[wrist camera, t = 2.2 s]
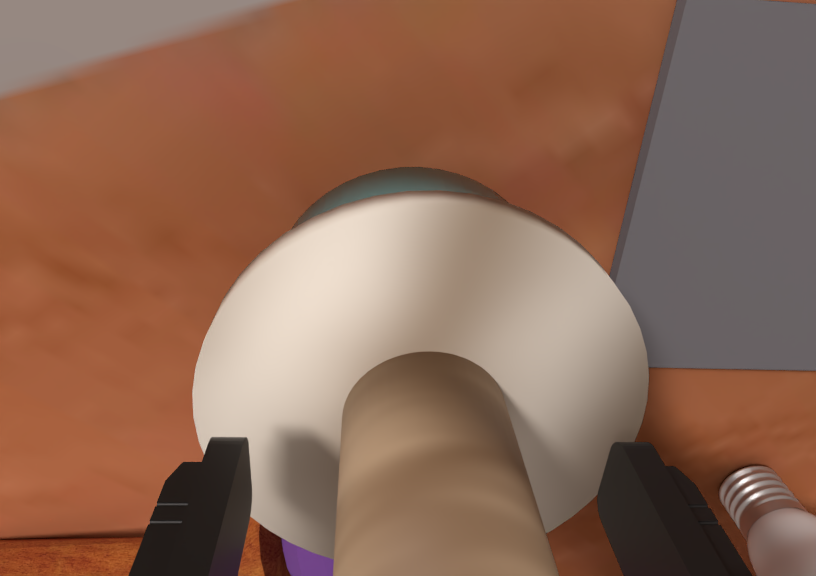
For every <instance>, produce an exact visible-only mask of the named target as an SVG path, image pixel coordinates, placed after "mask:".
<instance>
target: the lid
mask: <svg viewBox="0 0 816 576" xmlns="http://www.w3.org/2000/svg"><path fill="white" fill-rule="evenodd" d="M648 384H649V370H648V360H647V351H646V347H645V344H644V340H643V336H642V333H641V329H640V327H639V324H638V322H637V320H636V318H635V316H634V314H633V312H632V309H631V307H630V305H629V304H628V302H627V301H626V299H625V298H624V296H623V295H622V294H621V292H620V291H619V289H618V288H617V286H616V285H615V283H614V282H613V281H612V279H611V278H610V277H609V276H608V274H607V273H606V272H605V270H604V269H603V268H602V266H601V265H600V264H599V263H598V262H597V261H596V260H595V259H594V257H593V256H592V255H591V254H590V253H589V252H588V251H587V250H586V249H585V248H584V247H583V246H582V245H581V244H580V243H579V242H577V241H576V240H575V239H573V238H572V237H571V236H570V235H568V234H567V233H566V232H564V231H563V230H562V229H560V228H559V227H558V226H556V225H554V224H552V223H550V222H549V221H547V220H545V219H543V218H542V217H540V216H538V215H536V214H534V213H533V212H530V211H527V210H525V209H522V208H520V207H517V206H515V205H512V204H509V203H507V202H504V201H500V200H496V199H492V198H488V197H484V196H479V195H475V194H469V193H460V192H450V191H441V190H436V191H404V192H397V193H390V194H384V195H377V196H372V197H368V198H365V199H361V200H357V201H354V202H350V203H347V204H343V205H340V206H338V207H336V208H333V209H331V210H328V211H326V212H324V213H321V214H319V215H317V216H314V217H312V218H310V219H309V220H307V221H305V222H303V223H302V224H300V225H298V226H297V227H295V228H293V229H291V230H290V231H288V232H286V233H285V234H283V235H282V236H281V237H280V238H278V239H277V240H276V241H274V242H273V243H272V244H271V245H269V246H268V247H267V248H266V249H264V250H263V251H262V252H261V253H260V254H259V255H258V256H257V257H256V258H255V259H254V260H253V261H252V262H251V263H250V264H249V265H248V266H247V267H246V268H245V269H244V270H243V271H242V272H241V274H240V275H239V277H238V278H237V279H236V281H235V282H234V284H233V285H232V286H231V288H230V289H229V291H228V292H227V294H226V295H225V297H224V299H223V301H222V303H221V305H220V307H219V309H218V311H217V313H216V315H215V317H214V319H213V321H212V324H211V326H210V328H209V330H208V333H207V335H206V337H205V340H204V342H203V345H202V348H201V351H200V355H199V358H198V361H197V365H196V368H195V376H194V384H193V392H192V395H193V417H194V422H195V426H196V431H197V436H198V440H199V443H200V445H201V448H202V450H203V453H204V454H205V451H206V448H207V445H208V443H209V440H210V438H211V437H247V438H248V443H249V455H250V468H251V481H252V506H251V515H250V517H252V518H253V519H254V520H256V521H257V522H258V523H260V524H261V525H262V526H264V527H265V528H266V529H268V530H269V531H271V532H273V533H274V534H276V535H278V536H279V537H281V538H283V539H285V540H286V541H288V542H290V543H292V544H294V545H296V546H299V547H301V548H303V549H306V550H308V551H310V552H312V553H315V554H318V555H322V556H325V557H328V558H331V559H334V564H333V576H559V573H558V570H557V567H556V564H555V561H554V557H553V554H552V551H551V548H550V545H549V541H548V538H547V535H546V533H548V532H550V531H552V530H553V529H555V528H556V527H558V526H559V525H561V524H562V523H564V522H565V521H567V520H568V519H570V518H571V517H573V516H574V515H575V514H576V513H577V512H579V511H580V510H581V509H582V508H583V507H584V506H586V505H587V504H588V503H589V502H590V501H592V499H593V498H594V497H595V496H596V495H597V494H598V490H599V486H600V483H601V479H602V476H603V473H604V469H605V466H606V462H607V459H608V455H609V452H610V449H611V446H612V444H613V443H615V442H635V439H636V437H637V434H638V432H639V429H640V426H641V424H642V421H643V416H644V412H645V408H646V403H647V398H648Z"/></svg>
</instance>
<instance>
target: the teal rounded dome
mask: <svg viewBox="0 0 816 576" xmlns="http://www.w3.org/2000/svg"><path fill="white" fill-rule="evenodd" d="M436 190H441V191H450V192H460V193H469V194H475V195H479V196H484V197H488V198H492V199H496V200H500V201H504V202H507V201H506V200H505V199H503V198H502V197H501V196H499V195H498V194H497V193H495V192H494V191H493V190H491V189H490V188H488V187H486V186H484V185H482V184H481V183H479V182H477V181H475V180H472V179H470V178H467V177H465V176H462V175H460V174H457V173H452V172H448V171H444V170H440V169H432V168H423V167H400V168H393V169H386V170H380V171H376V172H373V173H369V174H366V175H362V176H359V177H357V178H355V179H352V180H350V181H348V182H345V183H343V184H341V185H340V186H338V187H336V188H335V189H333V190H331V191H329V192H328V193H326V194H325V195H324V196H322V197H321V198H320V199H319V200H317V201H316V202H315V203H314V204H312V205H311V206H310V207H309V208H308V209H307V210H306V211H305V212H304V213H303V215H302V216H301V217H300V218H299V219H298V220H297V222H296V223H295V224H294V226H293V227H292V229H293V228H295V227H297V226H298V225H300V224H302V223H303V222H305V221H307V220H309V219H310V218H312V217H314V216H317V215H319V214H321V213H324V212H326V211H328V210H331V209H333V208H336V207H338V206H340V205H343V204H347V203H350V202H354V201H357V200H361V199H365V198H368V197H372V196H377V195H384V194H390V193H397V192H404V191H436ZM507 203H508V202H507Z"/></svg>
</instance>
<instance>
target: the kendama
mask: <svg viewBox="0 0 816 576" xmlns="http://www.w3.org/2000/svg"><path fill="white" fill-rule="evenodd" d="M142 539H143V537H131V538H77V539H23V540H0V576H128V575H129V572H130V570H131V567H132V565H133V562H134V560H135V557H136V555H137V552H138V550H139V547H140V544H141V542H142ZM333 564H334V559H331V558H328V557H325V556H322V555H318V554H315V553H312V552H310V551H308V550H306V549H303V548H301V547H299V546H296V545H294V544H292V543H290V542H288V541H286V540H285V539H283V538H281V537H279V536H278V535H276V534H274V533H273V532H271V531H269V530H268V529H266V528H265V527H264V526H262V525H261V524H260V523H258V522H257V521H256V520H254V519H253V518H252V517H250V520H249V525H248V530H247V534H246V539H245V544H244V548H243V553H242V558H241V562H240V567H239V572H238V576H333Z"/></svg>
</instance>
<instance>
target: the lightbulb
mask: <svg viewBox="0 0 816 576" xmlns="http://www.w3.org/2000/svg"><path fill="white" fill-rule="evenodd" d="M719 499H720V501H721V503H722V504H723V506H724V507H725V508H726V510H727V512H728V513H729V514H730V516H731V518H732V520H733V521H734V522H735V524H736V526H737V527H738V528H739V529H740V531H741V534H742V535H743V537H744V538H745V540H746V541H747V548H748V554H749V558H750V561H751V564H752V566H753V568H754V571H755V574H756V576H816V516H815V515H813V514H811V513H809V512H807V510H806V509H805V508H804V507H803V506H802V505H801V504H800V502H799V501H798V500H797V499H796V498H795V497H794V495H793V493H792V492H791V491H790V490H788V487H787V486H786V485H785V484H784V483H783V482H782V480H781V478H780V477H779V476H778V475H777V474H776V472H775V471H774V470H772V469H771V468H768V467H765V466H749V467H745V468H742V469H740V470H738V471H736V472H734V473H732V474H731V475H730V476H728V477H727V478H726V479H725V480H724V482H723V483H722V485H721V487H720V489H719Z"/></svg>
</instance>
